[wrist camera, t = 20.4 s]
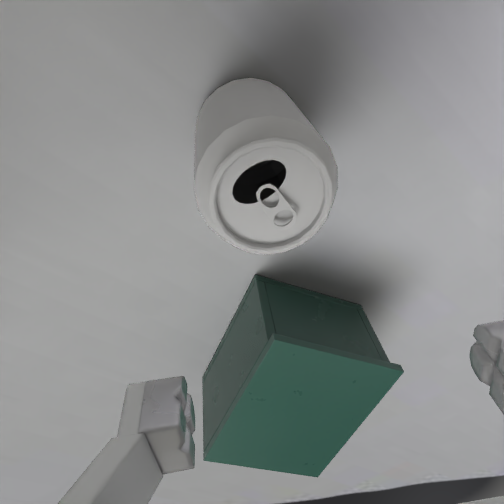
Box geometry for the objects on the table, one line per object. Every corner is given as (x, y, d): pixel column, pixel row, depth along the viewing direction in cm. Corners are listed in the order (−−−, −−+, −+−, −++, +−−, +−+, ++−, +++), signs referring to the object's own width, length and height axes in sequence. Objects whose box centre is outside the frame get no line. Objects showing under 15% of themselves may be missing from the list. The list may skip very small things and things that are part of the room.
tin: (255, 274, 38) (268, 340, 31) (361, 305, 41) (395, 371, 34) (202, 377, 44) (203, 452, 37) (298, 397, 47) (315, 469, 40)
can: (262, 51, 28) (299, 90, 18) (317, 142, 32) (373, 216, 22) (173, 118, 30) (160, 188, 20) (234, 197, 33) (251, 290, 23)
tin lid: (273, 332, 30) (274, 339, 30) (400, 364, 33) (404, 371, 33) (203, 453, 37) (203, 460, 36) (315, 470, 40) (317, 477, 39)
